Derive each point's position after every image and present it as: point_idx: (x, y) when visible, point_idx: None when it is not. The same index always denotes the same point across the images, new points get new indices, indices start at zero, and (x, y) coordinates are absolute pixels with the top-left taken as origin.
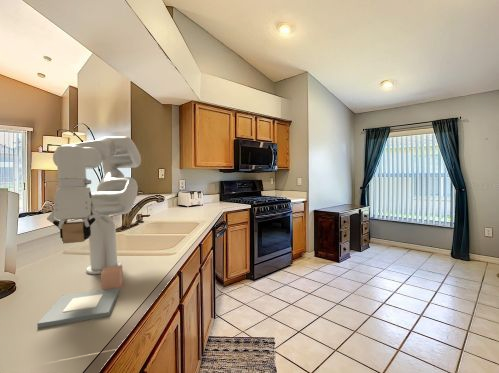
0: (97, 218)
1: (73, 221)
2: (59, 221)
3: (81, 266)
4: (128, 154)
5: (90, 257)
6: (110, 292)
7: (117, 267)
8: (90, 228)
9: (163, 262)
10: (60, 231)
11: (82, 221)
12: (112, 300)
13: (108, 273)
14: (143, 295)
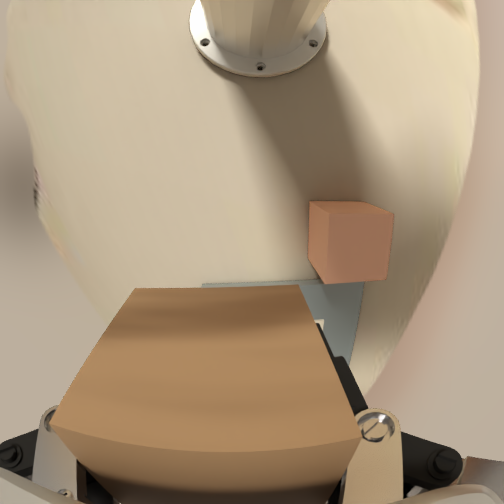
0: (466, 470)
1: (126, 453)
2: (32, 472)
3: None
4: None
5: (206, 14)
6: (341, 310)
7: (379, 235)
8: (362, 398)
9: (453, 68)
10: None
11: (296, 487)
12: (348, 353)
13: (349, 279)
14: (407, 314)
